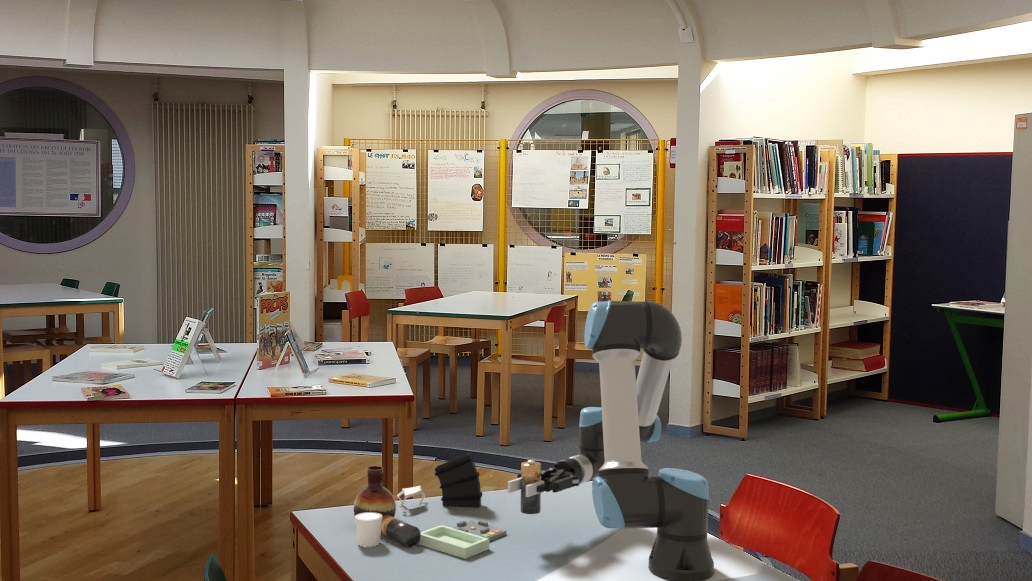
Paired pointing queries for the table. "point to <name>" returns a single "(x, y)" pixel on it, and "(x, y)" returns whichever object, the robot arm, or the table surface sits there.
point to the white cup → (368, 528)
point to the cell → (528, 476)
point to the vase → (375, 495)
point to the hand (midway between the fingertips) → (517, 489)
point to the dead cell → (400, 531)
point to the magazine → (460, 482)
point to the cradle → (480, 529)
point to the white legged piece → (411, 494)
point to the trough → (453, 541)
